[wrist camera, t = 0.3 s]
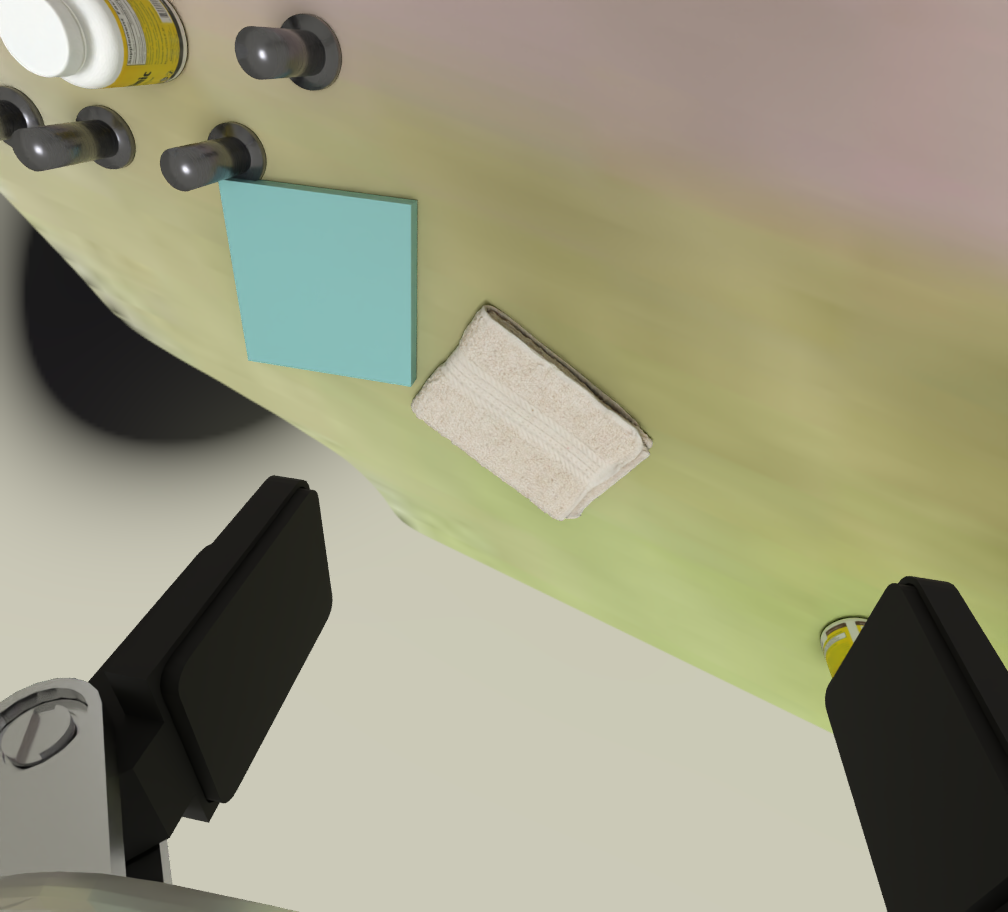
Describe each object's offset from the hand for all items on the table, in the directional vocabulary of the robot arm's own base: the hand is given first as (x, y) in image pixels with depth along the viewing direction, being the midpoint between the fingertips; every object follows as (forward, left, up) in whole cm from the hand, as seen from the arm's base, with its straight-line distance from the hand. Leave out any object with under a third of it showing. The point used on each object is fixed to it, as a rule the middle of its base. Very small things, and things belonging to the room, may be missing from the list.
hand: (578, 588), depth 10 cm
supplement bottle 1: (-6, -31, -36) cm, 48 cm away
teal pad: (+9, -20, -36) cm, 43 cm away
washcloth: (+18, -3, -37) cm, 41 cm away
